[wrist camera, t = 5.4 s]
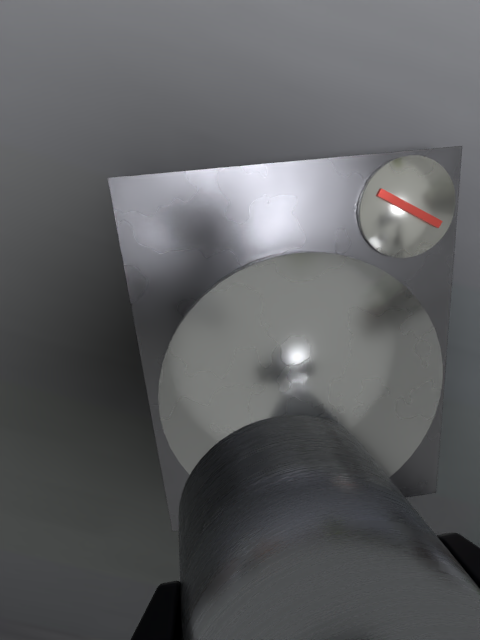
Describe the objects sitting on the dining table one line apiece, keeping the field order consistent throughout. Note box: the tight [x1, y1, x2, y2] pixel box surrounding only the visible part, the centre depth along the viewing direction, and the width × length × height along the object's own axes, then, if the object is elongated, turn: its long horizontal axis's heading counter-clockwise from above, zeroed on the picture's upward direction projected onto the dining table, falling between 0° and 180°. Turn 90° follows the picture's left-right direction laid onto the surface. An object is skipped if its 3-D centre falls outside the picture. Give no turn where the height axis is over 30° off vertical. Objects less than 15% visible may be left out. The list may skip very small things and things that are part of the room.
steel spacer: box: [178, 415, 480, 640], centre depth 7 cm, size 5×5×5 cm
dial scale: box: [108, 146, 462, 531], centre depth 18 cm, size 17×14×3 cm
